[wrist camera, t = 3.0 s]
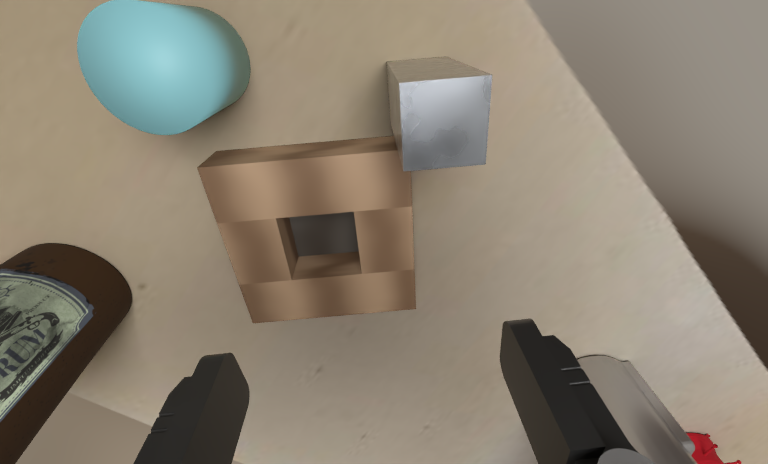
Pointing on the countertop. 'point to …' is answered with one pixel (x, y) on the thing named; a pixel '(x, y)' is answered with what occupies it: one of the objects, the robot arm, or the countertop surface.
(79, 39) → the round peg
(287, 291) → the socket block
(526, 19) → the countertop surface
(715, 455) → the alarm clock
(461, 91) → the square peg
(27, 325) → the brown bottle
